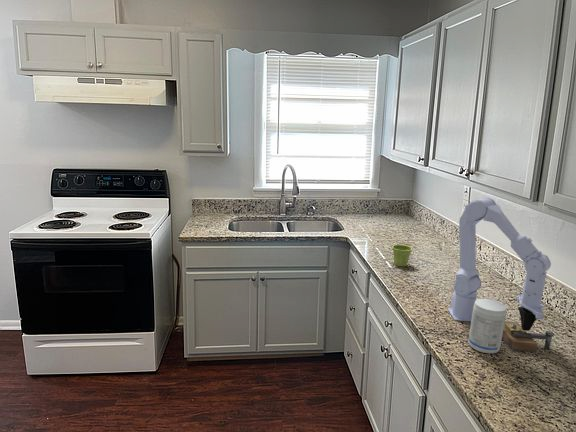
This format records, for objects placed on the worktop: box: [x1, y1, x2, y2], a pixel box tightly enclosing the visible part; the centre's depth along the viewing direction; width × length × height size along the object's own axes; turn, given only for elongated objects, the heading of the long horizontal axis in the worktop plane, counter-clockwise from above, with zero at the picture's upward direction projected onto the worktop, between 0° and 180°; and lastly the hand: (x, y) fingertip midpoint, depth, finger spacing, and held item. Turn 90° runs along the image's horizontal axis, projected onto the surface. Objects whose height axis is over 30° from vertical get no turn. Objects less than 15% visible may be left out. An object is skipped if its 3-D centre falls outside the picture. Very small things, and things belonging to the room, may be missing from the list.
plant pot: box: [391, 244, 413, 267], centre depth 219 cm, size 9×9×9 cm
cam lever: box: [513, 330, 555, 351], centre depth 146 cm, size 2×12×6 cm, turn 86°
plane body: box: [502, 320, 538, 353], centre depth 150 cm, size 15×8×3 cm, turn 176°
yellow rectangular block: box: [504, 323, 523, 335], centre depth 149 cm, size 5×4×2 cm
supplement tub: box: [467, 298, 508, 354], centre depth 143 cm, size 10×10×15 cm
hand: (525, 329), depth 150 cm, fingers closed
